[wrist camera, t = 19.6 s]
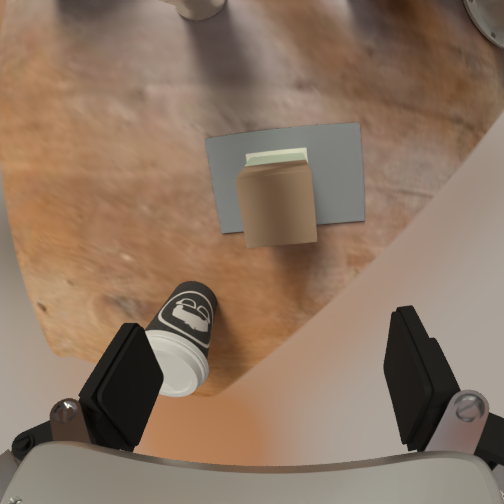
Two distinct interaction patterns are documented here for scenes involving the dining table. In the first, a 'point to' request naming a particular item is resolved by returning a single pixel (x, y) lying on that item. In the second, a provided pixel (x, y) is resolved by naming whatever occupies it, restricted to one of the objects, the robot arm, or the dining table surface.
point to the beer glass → (197, 8)
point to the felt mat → (317, 156)
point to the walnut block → (277, 204)
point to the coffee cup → (183, 338)
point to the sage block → (275, 158)
